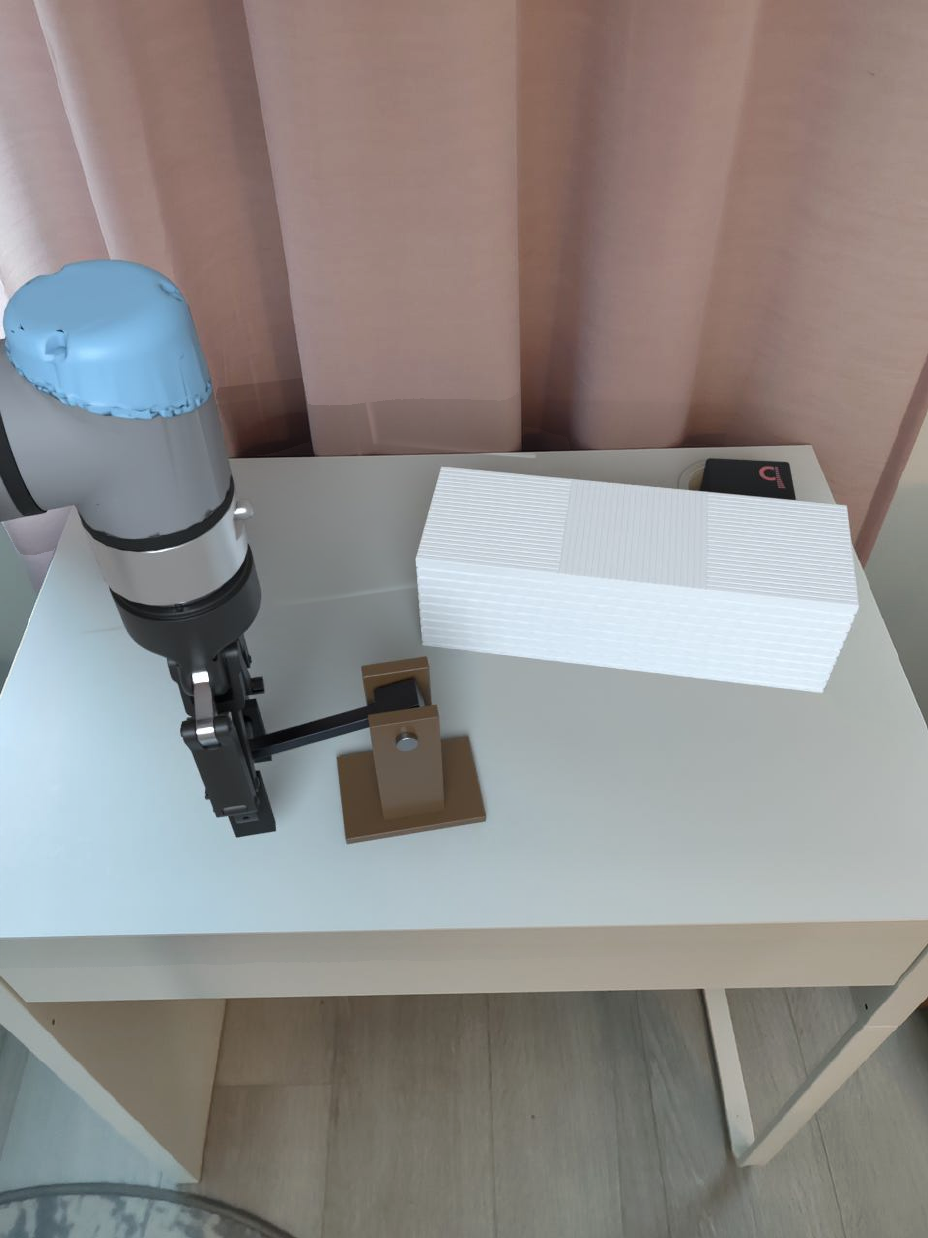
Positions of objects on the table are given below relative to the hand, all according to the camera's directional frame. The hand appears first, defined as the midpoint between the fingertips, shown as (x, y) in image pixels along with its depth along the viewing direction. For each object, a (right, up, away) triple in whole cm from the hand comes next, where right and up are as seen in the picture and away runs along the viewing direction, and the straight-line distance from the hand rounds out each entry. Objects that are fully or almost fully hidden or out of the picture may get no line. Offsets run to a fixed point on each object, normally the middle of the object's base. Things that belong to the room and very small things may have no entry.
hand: (254, 793), depth 70 cm
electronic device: (+40, +19, +21) cm, 49 cm away
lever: (+6, +4, -3) cm, 8 cm away
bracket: (+11, -1, +4) cm, 11 cm away
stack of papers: (+28, +12, +15) cm, 34 cm away
